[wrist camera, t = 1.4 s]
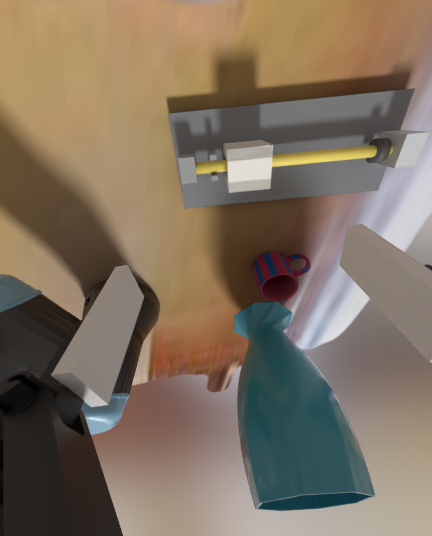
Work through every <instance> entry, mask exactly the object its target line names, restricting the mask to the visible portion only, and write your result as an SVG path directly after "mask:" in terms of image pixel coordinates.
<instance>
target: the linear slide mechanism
mask: <svg viewBox="0 0 432 536" xmlns="http://www.w3.org/2000/svg"><path fill="white" fill-rule="evenodd" d="M414 90H415V88H414V89H404V90H395V91H385V92H375V93H365V94H356V95H346V96H336V97H326V98H317V99H307V100H297V101H287V102H278V103H268V104H258V105H248V106H239V107H229V108H219V109H209V110H200V111H190V112H180V113H170V114H168V115H169V120H170V126H171V132H172V138H173V143H174V149H175V155H176V160H177V166H178V172H179V178H180V183H181V189H182V195H183V201H184V206H185V209H186V208H197V207H207V206H218V205H228V204H239V203H249V202H260V201H270V200H281V199H291V198H302V197H313V196H323V195H334V194H344V193H355V192H365V191H376V190H378V189H379V186H380V183H381V181H382V178H383V175H384V172H385V170H386V167H387V166H388V167H392V168H400V167H411V166H415V164H416V162H417V159H418V157H419V155H420V152H421V150H422V148H423V146H424V143H425V141H426V139H427V136H428V134H429V132H423V131H408V130H400V128H401V126H402V123H403V120H404V118H405V115H406V112H407V109H408V107H409V104H410V101H411V98H412V96H413V93H414ZM253 140H263V141H265V142H268V143H270V144H273V157H272V171H271V186H270V189H264V190H253V191H243V192H232V193H229V192H228V188H227V185H226V182H225V172H227V160H226V158H225V156H224V152H223V143H233V142H243V141H253Z"/></svg>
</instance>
